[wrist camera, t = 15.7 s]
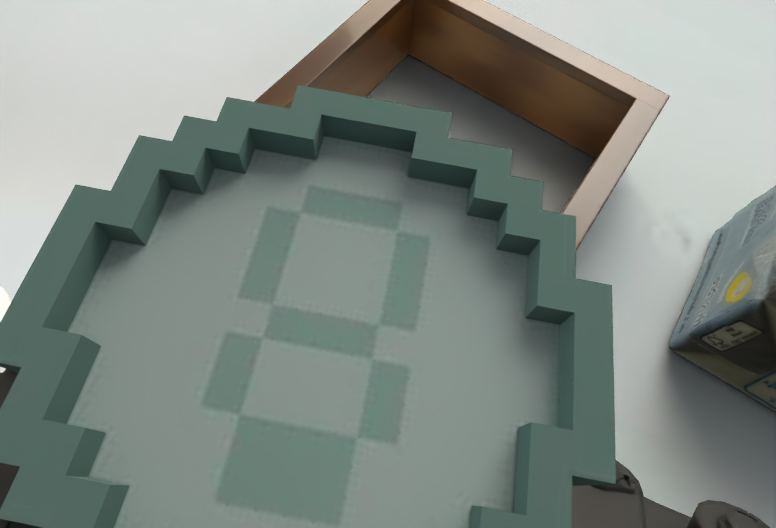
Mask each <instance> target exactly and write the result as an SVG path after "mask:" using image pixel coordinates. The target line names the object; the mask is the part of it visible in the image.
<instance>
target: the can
mask: <svg viewBox="0 0 776 528" xmlns="http://www.w3.org/2000/svg"><path fill="white" fill-rule="evenodd" d="M451 119H452V113H449V112H443V111H438V110H432V109H427V108H421V107H416V106H410V105H405V104H399V103H394V102H388V101H383V100H377V99H372V98H366V97H361V96H355V95H350V94H344V93H339V92H333V91H328V90H322V89H317V88H311V87H306V86H300V85H298V86H297V89H296V92H295V95H294V98H293V101H292V104H291V107H290V109H289V108H284V107H278V106H273V105H267V104H262V103H256V102H251V101H245V100H240V99H234V98H229V97H227V98H226V100H225V103H224V105H223V107H222V110H221V112H220V114H219V117H218V119H217V121H210V120H205V119H199V118H194V117H189V116H184V117H183V119H182V122H181V124H180V126H179V128H178V130H177V132H176V134H175V136H174V139H173V141H167V140H162V139H156V138H151V137H146V136H140V135H139V137H138V139H137V141H136V143H135V144H134V146H133V148H132V150H131V152H130V154H129V156H128V158H127V160H126V162H125V164H124V166H123V168H122V170H121V172H120V174H119V176H118V178H117V180H116V182H115V184H114V186H113V188H112V190H111V191H107V190H102V189H96V188H91V187H86V186H80V185H75V187H74V189H73V191H72V192H71V194H70V196H69V198H68V200H67V202H66V203H65V205H64V207H63V209H62V211H61V213H60V214H59V216H58V218H57V220H56V222H55V223H54V225H53V227H52V229H51V231H50V233H49V234H48V236H47V238H46V240H45V242H44V244H43V245H42V247H41V249H40V251H39V253H38V254H37V256H36V258H35V260H34V262H33V264H32V265H31V267H30V269H29V271H28V273H27V275H26V276H25V278H24V280H23V282H22V284H21V285H20V287H19V289H18V291H17V293H16V295H15V296H14V298H13V300H12V302H11V304H10V306H9V307H8V309H7V311H6V313H5V315H4V316H3V318H2V320H1V322H0V367H3V368H6V369H8V370H11V371H14V372H17V373H18V375H17V377H16V379H15V381H14V383H13V385H12V387H11V389H10V391H9V393H8V395H7V397H6V399H5V401H4V403H3V404H2V406H1V408H0V463H5V464H10V465H15V466H20V468H19V470H18V472H17V475H16V477H15V479H14V481H13V483H12V485H11V487H10V490H9V492H8V494H7V496H6V498H5V500H4V502H3V505H2V507H1V509H0V519H4V520H9V521H14V522H19V523H24V524H29V525H33V526H38V527H43V528H572V486H581V485H605V484H616V466H615V417H614V368H613V319H612V285H607V284H602V283H597V282H591V281H586V280H581V279H575V265H576V216H572V215H567V214H561V213H556V212H550V211H545V210H542V200H543V182H542V181H536V180H531V179H525V178H520V177H515V176H510V174H511V162H512V150H513V149H508V148H502V147H497V146H491V145H486V144H480V143H475V142H470V141H464V140H459V139H453V138H449V131H450V125H451Z"/></svg>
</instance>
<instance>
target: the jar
mask: <svg viewBox="0 0 776 528" xmlns="http://www.w3.org/2000/svg"><path fill="white" fill-rule="evenodd" d="M10 304H11V300H10V298H9V296H8V294H7V293H6V291H5V290H4V289H3V288H2V286H1V285H0V322H1V320H2V318H3V316H4V315H5V313H6V311H7V309H8V307H9V306H10ZM5 369H6V368H3V367H0V373H2V372H4V371H5Z"/></svg>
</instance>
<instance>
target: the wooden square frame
mask: <svg viewBox="0 0 776 528" xmlns="http://www.w3.org/2000/svg"><path fill="white" fill-rule="evenodd" d="M408 54H409V55H411V56H413V57H415V58H416V59H418V60H420V61H422V62H424V63H425V64H427V65H429V66H431V67H433V68H434V69H436V70H438V71H440V72H441V73H443V74H445V75H447V76H449V77H450V78H452V79H454V80H456V81H458V82H459V83H461V84H463V85H465V86H467V87H468V88H470V89H472V90H474V91H475V92H477V93H479V94H481V95H483V96H484V97H486V98H488V99H490V100H492V101H493V102H495V103H497V104H499V105H501V106H502V107H504V108H506V109H508V110H509V111H511V112H513V113H515V114H517V115H518V116H520V117H522V118H524V119H526V120H527V121H529V122H531V123H533V124H535V125H536V126H538V127H540V128H542V129H543V130H545V131H547V132H549V133H551V134H552V135H554V136H556V137H558V138H560V139H561V140H563V141H565V142H567V143H569V144H570V145H572V146H574V147H576V148H578V149H579V150H581V151H583V152H585V153H586V154H588V155H590V156H592V157H594V158H595V161H594V162H593V164H592V165H591V167H590V168H589V170H588V171H587V173H586V174H585V176H584V178H583V179H582V181H581V182H580V184H579V185H578V187H577V188H576V190H575V191H574V193H573V194H572V196H571V197H570V199H569V201H568V202H567V204H566V205H565V207H564V208H563V210H562V211H561V214H567V215H572V216H576V250H577V249H578V247H579V245H580V244H581V242H582V240H583V239H584V237H585V235H586V234H587V232H588V230H589V229H590V227H591V226H592V224H593V222H594V221H595V219H596V217H597V216H598V214H599V212H600V211H601V209H602V207H603V206H604V204H605V202H606V201H607V199H608V198H609V196H610V194H611V193H612V191H613V189H614V188H615V186H616V184H617V183H618V181H619V179H620V178H621V176H622V174H623V173H624V171H625V170H626V168H627V166H628V165H629V163H630V161H631V160H632V158H633V156H634V155H635V153H636V151H637V150H638V148H639V147H640V145H641V143H642V142H643V140H644V138H645V137H646V135H647V133H648V132H649V130H650V128H651V127H652V125H653V123H654V122H655V120H656V119H657V117H658V115H659V114H660V112H661V110H662V109H663V107H664V105H665V104H666V102H667V100H668V99H669V95H667V94H665V93H663V92H661V91H659V90H657V89H655V88H653V87H651V86H649V85H648V84H646V83H644V82H642V81H640V80H638V79H636V78H634V77H632V76H630V75H628V74H626V73H624V72H622V71H620V70H618V69H616V68H614V67H612V66H610V65H609V64H607V63H605V62H603V61H601V60H599V59H597V58H595V57H593V56H591V55H589V54H587V53H585V52H583V51H581V50H579V49H577V48H575V47H573V46H571V45H570V44H568V43H566V42H564V41H562V40H560V39H558V38H556V37H554V36H552V35H550V34H548V33H546V32H544V31H542V30H540V29H538V28H536V27H534V26H532V25H531V24H529V23H527V22H525V21H523V20H521V19H519V18H517V17H515V16H513V15H511V14H509V13H507V12H505V11H503V10H501V9H499V8H497V7H495V6H493V5H492V4H490V3H488V2H486V1H484V0H369V1H368V2H367V3H366V4H365V5H363V6H362V7H361V8H360V9H359V10H358V11H357V12H356V13H354V14H353V15H352V16H351V17H350V18H349V19H348V20H346V21H345V22H344V23H343V24H342V25H341V26H340V27H339V28H337V29H336V30H335V31H334V32H333V33H332V34H331V35H329V36H328V37H327V38H326V39H325V40H324V41H323V42H321V43H320V44H319V45H318V46H317V47H316V48H315V49H314V50H312V51H311V52H310V53H309V54H308V55H307V56H306V57H304V58H303V59H302V60H301V61H300V62H299V63H298V64H296V65H295V66H294V67H293V68H292V69H291V70H290V71H289V72H287V73H286V74H285V75H284V76H283V77H282V78H281V79H279V80H278V81H277V82H276V83H275V84H274V85H273V86H271V87H270V88H269V89H268V90H267V91H266V92H265V93H264V94H262V95H261V96H260V97H259V98H258V99H257V100H256V101H254V102H256V103H262V104H267V105H273V106H278V107H284V108H289V109H290V107H291V104H292V101H293V98H294V95H295V92H296V89H297V86H298V85H300V86H306V87H311V88H317V89H322V90H328V91H333V92H339V93H344V94H350V95H355V96H361V97H366V96H367V95H368V94H369V93H370V92H371V91H372V90H373V89H374V88H375V87H376V86H377V85H378V84H379V83H380V82H381V81H382V80H383V79H384V78H385V77H386V76H387V75H388V74H389V73H390V72H391V71H392V70H393V69H394V68H395V67H396V66H397V65H398V64H399V63H400V62H401V61H402V60H403V59H404V58H405V57H406V56H407V55H408Z"/></svg>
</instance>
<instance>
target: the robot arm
mask: <svg viewBox="0 0 776 528" xmlns="http://www.w3.org/2000/svg"><path fill="white" fill-rule="evenodd" d="M17 375H18V373H17V372H14V371H11V370H8V369H5V371H4V372H2V373H0V408H1V406H2V404H3V403H4V401H5V399H6V397H7V395H8V393H9V391H10V389H11V387H12V385H13V383H14V381H15V379H16V377H17ZM615 466H616V484H605V485H581V486H572V528H770V527H769V526H767V525H766V524H765V523H763V522H762V521H761V520H760V519H759V518H757V517H756V516H754V515H753V514H751V513H748V512H747V511H745V510H743V509H741V508H739V507H736V506H733V505H730V504H727V503H725V502H721V501H712V500H707V501H704V502H701V503H699V504H698V506H697V508H696V510H695V512H694V514H693V516H692V518H691V517H689V516H686V515H684V514H681V513H679V512H677V511H674V510H672V509H670V508H667V507H665V506H663V505H660V504H658V503H656V502H654V501H652V500H649V499H647V498H645V497H643V492H642V489H641V487H640V484H639V481H638V480H637V479H636V478H635V477H634V475H633V474H632V473H631V472H630V471H629V470H628V469H627V468H626V467H624V466H623V465H622V464H620V463H619V462H618V461H616V460H615ZM19 468H20V466H15V465H10V464H5V463H0V509H1V507H2V505H3V502H4V500H5V498H6V496H7V494H8V492H9V490H10V487H11V485H12V483H13V481H14V479H15V477H16V475H17V472H18V470H19ZM0 528H43V527H38V526H33V525H29V524H24V523H19V522H14V521H9V520H4V519H0Z"/></svg>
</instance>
